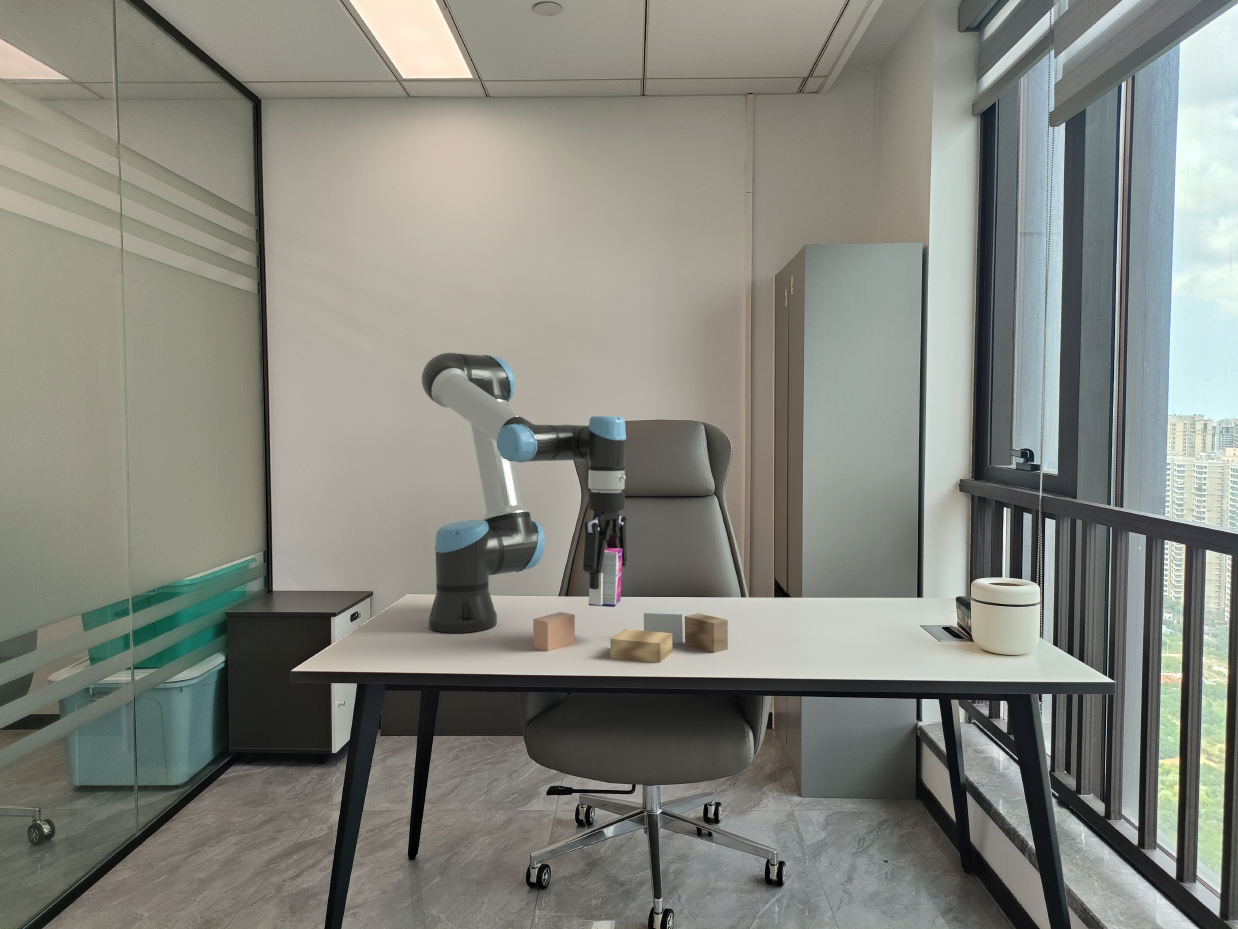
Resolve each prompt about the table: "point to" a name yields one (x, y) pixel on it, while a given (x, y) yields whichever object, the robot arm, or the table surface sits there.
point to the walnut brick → (706, 632)
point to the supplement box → (611, 577)
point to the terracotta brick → (553, 631)
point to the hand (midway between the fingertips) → (605, 600)
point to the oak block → (641, 645)
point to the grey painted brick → (666, 623)
